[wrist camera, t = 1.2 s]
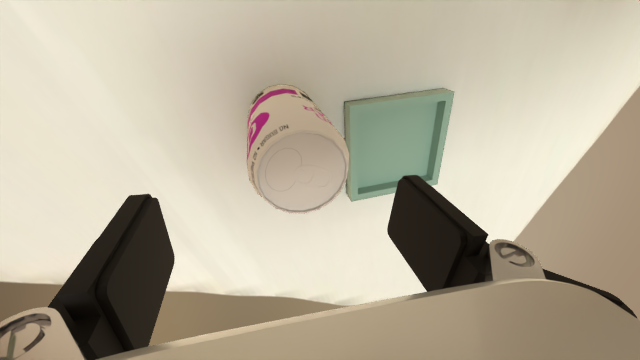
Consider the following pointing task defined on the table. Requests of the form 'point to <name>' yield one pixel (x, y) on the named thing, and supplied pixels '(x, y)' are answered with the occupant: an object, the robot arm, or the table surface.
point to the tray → (395, 140)
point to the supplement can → (294, 151)
